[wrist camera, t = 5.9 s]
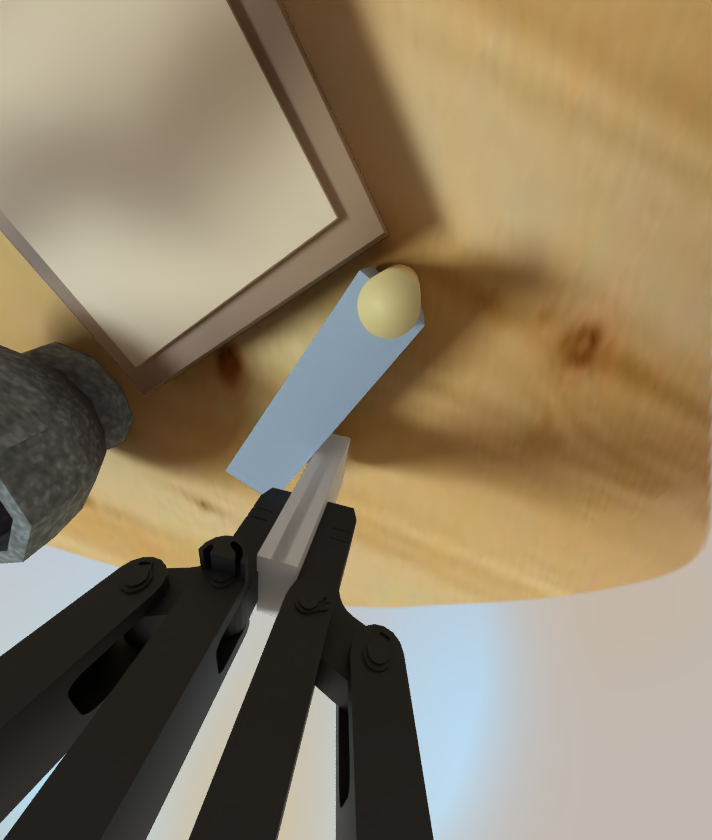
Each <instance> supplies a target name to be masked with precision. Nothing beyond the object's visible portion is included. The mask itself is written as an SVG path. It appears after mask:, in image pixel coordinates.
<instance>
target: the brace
mask: <svg viewBox="0 0 712 840" xmlns="http://www.w3.org/2000/svg"><path fill="white" fill-rule="evenodd" d="M424 326H425V320H424V310H423V309H422V308H421V293H420V281H419V278H418V276H417V274H416V273H415V271H414V270H413V269H412V268H410V267H408V266H406V265H401V264H398V265H393V266H390V267H389V268H387V269H385V270H384V271H382V272H379V271H377V270H376V269H375V268H374V267H373V266H370V267H367V268H364V269H362V270H359V272H358V273H357V275H356V276H355V278H354V279H353V281H352V282H351V284H350V285H349V287H348V288H347V290H346V291H345V293H344V294H343V296H342V297H341V299H340V300H339V302H338V303H337V305H336V306H335V308H334V309H333V311H332V312H331V314H330V315H329V317H328V318H327V320H326V321H325V323H324V324H323V326H322V327H321V329H320V330H319V332H318V333H317V335H316V336H315V338H314V339H313V341H312V342H311V344H310V345H309V347H308V348H307V350H306V351H305V353H304V354H303V356H302V357H301V359H300V360H299V361H298V363H297V364H296V366H295V367H294V369H293V370H292V372H291V373H290V375H289V376H288V378H287V379H286V381H285V382H284V384H283V385H282V387H281V388H280V390H279V391H278V393H277V394H276V396H275V397H274V399H273V400H272V402H271V403H270V405H269V406H268V408H267V409H266V411H265V412H264V414H263V415H262V417H261V418H260V420H259V421H258V423H257V424H256V426H255V427H254V429H253V430H252V432H251V433H250V435H249V436H248V438H247V439H246V441H245V442H244V444H243V445H242V447H241V448H240V450H239V451H238V453H237V454H236V456H235V457H234V459H233V460H232V462H231V463H230V465H229V466H228V468H227V469H226V470H225V471H226V472H228V473H229V474H231V475H233V476H234V477H236V478H237V479H239V480H240V481H242V482H243V483H245V484H246V485H248V486H249V487H251V488H252V489H254V490H255V491H257V492H259V493H260V494H264V493H265V492H267V491H268V490H269V489H271V488H272V487H273V488H277V489H281V490H283V489H284V488H285V487H286V486H287V485H288V483H289V482H290V481H291V480H292V479H293V478H294V476H295V475H296V474H297V473H298V472H299V471H300V470H301V468H302V467H303V466H304V465H305V464H306V463H307V461H308V460H309V459H310V458H311V457H312V456H313V454H314V452H316V451H317V450H318V449H319V448H320V446H321V445H322V444H323V443H324V442H325V441H326V439H327V438H328V437H329V436H330V435H331V434H332V432H333V431H334V430H335V429H336V428H337V427H338V426H339V424H340V423H341V422H342V421H343V420H344V419H345V417H346V416H347V415H348V414H349V413H350V412H351V410H352V409H353V408H354V407H355V406H356V405H357V403H358V402H359V401H360V400H361V399H362V398H363V397H364V395H365V394H366V393H367V392H368V391H369V390H370V388H371V387H372V386H373V385H374V384H375V383H376V381H377V380H378V379H379V378H380V377H381V376H382V375H383V373H384V372H385V371H386V370H387V369H388V368H389V366H390V365H391V364H392V363H393V362H394V361H395V359H396V358H397V357H398V356H399V355H400V354H401V353H402V351H403V350H404V349H405V348H406V347H407V346H408V344H409V343H410V342H411V341H412V340H413V339H414V337H415V336H416V335H417V334H418V333H419V332H420V331H421V329H422V328H423V327H424Z"/></svg>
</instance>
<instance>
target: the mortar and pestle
mask: <svg viewBox="0 0 712 840" xmlns="http://www.w3.org/2000/svg"><path fill="white" fill-rule="evenodd" d="M132 421H133V418H132V416H131V413H130V410H129V407H128V404H127V402H126V399H125V396H124V393H123V390H122V388H121V387H120V386H119V384H118V383H117V382H116V381H115V380H114V379H113V378H112V377H111V376H110V375H109V374H108V373H107V372H106V371H105V370H104V369H103V368H102V367H101V366H100V365H99V364H98V363H97V362H96V361H95V360H94V359H93V358H92V357H91V356H88V355H86V354H83V353H81V352H78V351H76V350H73V349H71V348H68V347H66V346H63V345H61V344H58V343H56V342H54V343H51V344H48V345H45V346H41V347H38V348H36V349H33V350H30V351H27V352H24V353H18V352H16V351H13V350H11V349H8V348H6V347H3V346H1V345H0V563H13V562H14V563H15V562H24V561H25V560H26V559H27V558H29V557H30V556H31V555H32V554H34V553H35V552H36V551H37V550H38V549H40V548H41V547H42V546H44V545H45V544H46V543H48V542H49V541H50V540H51V539H53V538H54V537H55V536H56V535H57V534H58V533H59V532H60V531H61V530H62V529H63V528H64V527H65V526H66V525H67V524H68V523H69V522H70V521H71V520H72V519H73V518H74V517H75V515H76V514H77V513H78V512H79V511H80V510H81V509H82V508H83V506H84V504H85V502H86V499H87V497H88V495H89V493H90V491H91V489H92V487H93V485H94V483H95V481H96V478H97V475H98V473H99V470H100V468H101V465H102V462H103V460H104V457H105V454H106V450H107V449H110V448H113V447H115V446H116V445H118V444H120V443H122V442H123V441H124V440H125V438H126V435H127V433H128V430H129V428H130V426H131V423H132Z"/></svg>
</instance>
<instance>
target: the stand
mask: <svg viewBox="0 0 712 840" xmlns="http://www.w3.org/2000/svg"><path fill="white" fill-rule="evenodd" d="M0 231H1V232H2V233H3V234H4V235H5V236H6V238H7V239H8V240H9V241H10V242H11V243H12V244H13V246H14V247H15V248H16V249H17V250H18V251H19V252H20V254H21V255H22V256H23V257H24V258H25V259H26V260H27V261H28V263H29V264H30V265H31V266H32V267H33V268H34V269H35V271H36V272H37V273H38V274H39V275H40V276H41V277H42V279H43V280H44V281H45V282H46V283H47V284H48V285H49V287H50V288H51V289H52V290H53V291H54V292H55V293H56V295H57V296H58V297H59V298H60V299H61V300H62V301H63V302H64V304H65V305H66V306H67V307H68V308H69V309H70V310H71V312H72V313H73V314H74V315H75V316H76V317H77V318H78V320H79V321H80V322H81V323H82V324H83V325H84V326H85V328H86V329H87V330H88V331H89V332H90V333H91V334H92V336H93V337H94V338H95V339H96V340H97V341H98V342H99V343H100V345H101V346H102V347H103V348H104V349H105V350H106V351H107V353H108V354H109V355H110V356H111V357H112V358H113V359H114V361H115V362H116V363H117V364H118V365H119V366H120V367H121V369H122V370H123V371H124V372H125V373H126V374H127V375H128V377H129V378H130V379H131V380H132V381H133V382H134V383H135V384H136V386H137V387H138V388H139V389H140V390H141V391H142V392H143V394H146V393H148V392H150V391H152V390H153V389H155V388H157V387H159V386H161V385H163V384H165V383H167V382H169V381H170V380H172V379H174V378H176V377H177V376H179V375H180V374H182V373H183V372H185V371H186V370H188V369H189V368H191V367H192V366H194V365H195V364H197V363H198V362H200V361H201V360H203V359H204V358H206V357H207V356H209V355H210V354H212V353H213V352H215V351H216V350H218V349H219V348H221V347H222V346H224V345H225V344H227V343H228V342H230V341H231V340H233V339H234V338H236V337H237V336H239V335H240V334H242V333H243V332H245V331H246V330H248V329H249V328H251V327H252V326H254V325H255V324H257V323H258V322H260V321H261V320H263V319H264V318H266V317H267V316H269V315H270V314H272V313H273V312H275V311H276V310H278V309H279V308H281V307H282V306H284V305H285V304H287V303H288V302H290V301H291V300H293V299H294V298H296V297H297V296H299V295H300V294H302V293H303V292H305V291H306V290H308V289H309V288H311V287H312V286H314V285H315V284H317V283H318V282H320V281H321V280H323V279H324V278H326V277H327V276H329V275H330V274H332V273H333V272H335V271H336V270H338V269H339V268H341V267H342V266H344V265H345V264H347V263H348V262H350V261H351V260H353V259H354V258H356V257H357V256H359V255H360V254H362V253H363V252H365V251H366V250H368V249H369V248H371V247H372V246H374V245H375V244H377V243H378V242H380V241H381V240H383V239H384V238H386V237H387V236H389V233H388V231H387V229H386V227H385V224H384V222H383V220H382V218H381V216H380V214H379V211H378V209H377V207H376V205H375V203H374V201H373V198H372V196H371V194H370V192H369V190H368V188H367V185H366V183H365V181H364V179H363V177H362V175H361V173H360V170H359V168H358V166H357V164H356V162H355V160H354V157H353V155H352V153H351V151H350V149H349V147H348V144H347V142H346V140H345V138H344V136H343V134H342V131H341V129H340V127H339V125H338V123H337V121H336V119H335V116H334V114H333V112H332V110H331V108H330V106H329V103H328V101H327V99H326V97H325V95H324V93H323V90H322V88H321V86H320V84H319V82H318V80H317V77H316V75H315V73H314V71H313V69H312V67H311V65H310V62H309V60H308V58H307V56H306V54H305V52H304V49H303V47H302V45H301V43H300V41H299V39H298V36H297V34H296V32H295V30H294V28H293V26H292V23H291V21H290V19H289V17H288V15H287V13H286V11H285V8H284V6H283V4H282V2H281V0H0Z"/></svg>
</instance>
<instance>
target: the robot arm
mask: <svg viewBox="0 0 712 840" xmlns="http://www.w3.org/2000/svg"><path fill="white" fill-rule="evenodd" d="M349 444H350V438H349V437H345V436H341V435H337V434H333V433H332V434H331V435H330V436H329V437H328V438H327V439H326V441H325V442H324V443H323V444H322V445H321V446H320V448H319V449H318V450H317V451H316V452H314V454H313V456H312V458H311V459H310V461H309V463H308V465H307V467H306V468H305V470H304V472H303V474H302V475H301V477H300V479H299V481H298V483H297V484H296V486H295V488H294V490H293V491H292V492H288V491H284V490H281V489H277V488H273V487H272V488H271V489H269V490H268V491H267V492H265V493H264V494H262V495H261V496H260V498H259V499H258V501H257V502H256V503H255V505H254V507H253V508H252V509H251V511H250V512H249V514H248V516H247V517H246V518H245V520H244V521H243V523H242V524H241V526H240V527H239V528H238V530H237V531H236V533H235V534H234V536H220V537H215V538H213V539H211V540H209V541H207V542H206V543H205V544H204V545H202V546H201V547H200V548H199V549H198V550H199V557H200V564H201V566H198V567H191V568H166V565H165V564H164V563H163V561H162V560H160V559H157V558H155V557H142V558H139V559H136V560H132V561H130V562H129V563H127V564H125V565H123V566H122V567H120V568H119V569H117V570H116V571H115V572H113V573H112V574H111V575H110V576H108V577H107V578H105V579H104V580H103V581H101V582H100V583H99V584H97V585H96V586H95V587H93V588H92V589H91V590H89V591H88V592H86V593H85V594H84V595H82V596H81V597H80V598H78V599H77V600H76V601H74V602H73V603H72V604H70V605H69V606H68V607H66V608H65V609H64V610H62V611H61V612H60V613H58V614H57V615H56V616H54V617H53V618H51V619H50V620H49V621H47V622H46V623H45V624H43V625H42V626H41V627H39V628H38V629H37V630H35V631H34V632H33V633H31V634H30V635H29V636H27V637H26V638H24V639H23V640H22V641H20V642H19V643H18V644H16V645H15V646H14V647H12V648H11V649H10V650H9V651H7V652H6V653H4V654H3V655H2V656H0V823H1V822H2V821H3V820H4V818H5V817H6V816H7V815H8V814H9V813H10V812H11V811H12V810H13V809H14V808H15V807H16V806H17V805H18V804H19V803H20V801H22V799H23V798H24V797H25V796H26V795H27V794H28V793H29V792H30V791H31V790H32V789H33V788H34V787H35V786H36V785H37V783H38V782H39V781H40V780H41V779H42V778H43V777H44V776H45V775H46V774H47V773H48V772H49V771H50V770H51V769H52V768H53V767H54V765H55V764H56V763H57V762H58V761H59V760H60V759H61V758H62V757H63V756H64V755H65V756H64V757H63V759H62V760H61V762H60V763H59V764H58V765H57V767H56V768H55V770H54V771H53V772H52V774H51V775H50V777H49V778H48V779H47V781H46V782H45V783H44V785H43V786H42V787H41V789H40V790H39V791H38V793H37V794H36V796H35V797H34V798H33V800H32V801H31V803H30V804H29V805H28V807H27V808H26V809H25V811H24V812H23V814H22V815H21V816H20V818H19V819H18V820H17V822H16V823H15V824H14V826H13V827H12V829H11V830H10V831H9V833H8V834H7V836H6V837H5V838H4V840H146V838H147V836H148V834H149V832H150V830H151V828H152V826H153V824H154V822H155V820H156V818H157V816H158V813H159V811H160V810H161V807H162V805H163V803H164V801H165V799H166V797H167V795H168V793H169V791H170V789H171V787H172V785H173V783H174V781H175V779H176V777H177V775H178V773H179V771H180V768H181V766H182V764H183V762H184V760H185V758H186V756H187V754H188V752H189V750H190V748H191V746H192V744H193V742H194V740H195V738H196V736H197V734H198V732H199V729H200V727H201V725H202V723H203V721H204V719H205V717H206V715H207V713H208V711H209V709H210V707H211V705H212V702H213V700H214V699H215V697H216V695H217V692H218V691H219V688H220V686H221V684H222V682H223V680H224V678H225V676H226V674H227V672H228V670H229V668H230V666H231V664H232V662H233V660H234V658H235V656H236V654H237V652H238V649H239V647H240V645H241V643H242V641H243V639H244V637H245V635H246V633H247V630H248V627H249V618H250V615H251V613H252V611H253V609H254V607H255V605H256V603H257V611H258V612H262V613H264V614H268V615H271V616H274V617H277V618H276V620H275V623H274V625H273V628H272V630H271V633H270V635H269V638H268V641H267V643H266V645H265V648H264V650H263V653H262V656H261V658H260V661H259V663H258V666H257V668H256V671H255V673H254V676H253V678H252V681H251V683H250V686H249V689H248V691H247V693H246V696H245V699H244V701H243V704H242V706H241V709H240V711H239V714H238V716H237V719H236V721H235V724H234V726H233V729H232V731H231V734H230V736H229V739H228V741H227V744H226V747H225V749H224V752H223V754H222V757H221V759H220V762H219V764H218V767H217V769H216V772H215V775H214V777H213V779H212V782H211V784H210V787H209V790H208V792H207V795H206V797H205V800H204V802H203V805H202V807H201V810H200V812H199V815H198V818H197V820H196V822H195V825H194V828H193V830H192V832H191V835H190V838H189V840H277V838H278V834H279V830H280V826H281V822H282V818H283V814H284V810H285V806H286V802H287V798H288V793H289V790H290V786H291V781H292V777H293V773H294V769H295V765H296V761H297V757H298V753H299V749H300V745H301V741H302V737H303V732H304V728H305V724H306V720H307V716H308V712H309V708H310V704H311V700H312V696H313V692H314V688H315V686H316V687H317V688H319V689H320V690H321V691H322V692H323V693H324V694H326V695H327V696H328V697H329V698H330V699H331V700H332V701H333V702H334V703H336V840H433V833H432V828H431V821H430V814H429V808H428V802H427V796H426V789H425V783H424V777H423V771H422V765H421V758H420V752H419V746H418V739H417V733H416V727H415V721H414V714H413V708H412V702H411V696H410V689H409V683H408V677H407V671H406V664H405V659H404V653H403V650H402V647H401V644H400V642H399V640H398V639H397V637H396V636H395V635H394V633H393V632H391V631H390V630H389V629H387V628H385V627H384V626H380V625H376V624H373V625H368V626H365V625H364V624H362V623H361V622H360V621H358V620H357V619H355V618H354V617H353V616H352V615H351V614H350V613H349V612H348V611H346V609H345V607H344V606H343V604H342V601H341V599H340V593H339V589H340V585H341V581H342V577H343V573H344V569H345V566H346V562H347V558H348V554H349V550H350V546H351V542H352V538H353V533H354V529H355V525H356V516H355V512H354V508H350V507H346V506H343V505H339V504H335V502H336V499H337V497H338V494H339V491H340V488H341V486H342V482H343V476H344V471H345V465H346V460H347V454H348V449H349Z"/></svg>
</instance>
